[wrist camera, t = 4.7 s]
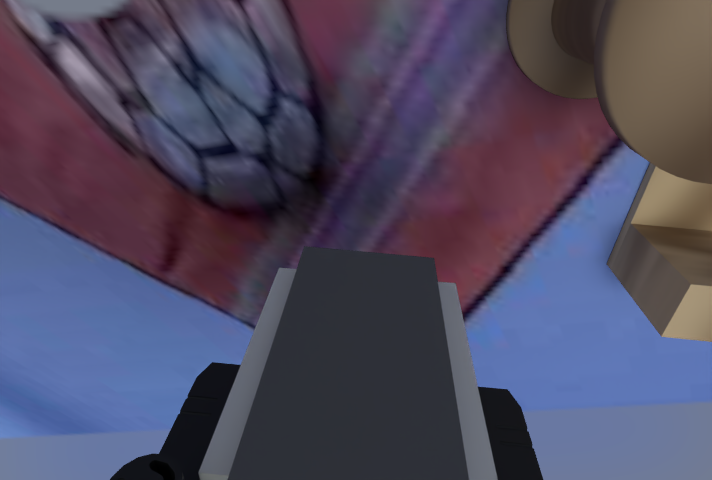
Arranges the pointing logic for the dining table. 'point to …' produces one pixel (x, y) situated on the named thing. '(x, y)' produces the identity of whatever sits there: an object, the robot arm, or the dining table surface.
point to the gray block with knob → (356, 377)
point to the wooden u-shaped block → (669, 254)
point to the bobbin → (628, 70)
